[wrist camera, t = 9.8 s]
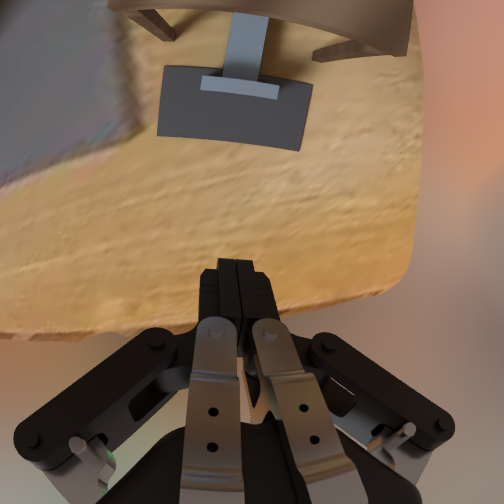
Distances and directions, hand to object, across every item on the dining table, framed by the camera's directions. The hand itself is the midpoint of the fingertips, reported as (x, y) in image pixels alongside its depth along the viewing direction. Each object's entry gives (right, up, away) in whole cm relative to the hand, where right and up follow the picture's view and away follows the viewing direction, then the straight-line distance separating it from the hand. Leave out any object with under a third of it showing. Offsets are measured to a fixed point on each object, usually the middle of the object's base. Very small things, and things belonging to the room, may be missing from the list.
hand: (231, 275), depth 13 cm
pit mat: (-1, +15, +12) cm, 19 cm away
